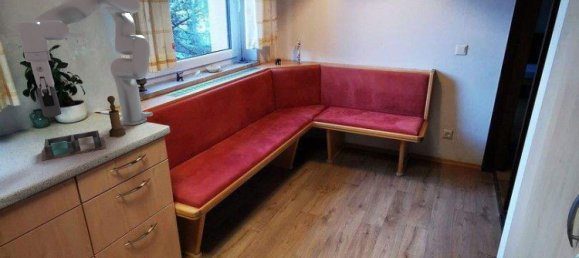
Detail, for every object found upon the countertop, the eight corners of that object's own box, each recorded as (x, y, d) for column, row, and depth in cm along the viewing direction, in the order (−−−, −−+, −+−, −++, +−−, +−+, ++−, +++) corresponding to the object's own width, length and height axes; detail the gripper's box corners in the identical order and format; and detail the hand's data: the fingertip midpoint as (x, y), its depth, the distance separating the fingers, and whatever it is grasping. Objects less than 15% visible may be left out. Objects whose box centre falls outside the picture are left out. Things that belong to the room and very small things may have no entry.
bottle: (65, 112, 136) (55, 75, 131) (54, 117, 131) (44, 78, 126) (51, 112, 137) (41, 75, 132) (39, 117, 131) (29, 78, 126)
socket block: (103, 138, 152) (100, 126, 150) (106, 148, 141) (103, 135, 139) (43, 148, 141) (40, 136, 140) (42, 161, 130) (38, 147, 128)
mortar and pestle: (129, 132, 158) (122, 94, 152) (119, 137, 152) (111, 98, 146) (117, 131, 160) (109, 93, 154) (106, 136, 154) (98, 97, 148)
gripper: (49, 58, 121) (61, 107, 127) (50, 53, 135) (61, 97, 141) (22, 60, 117) (36, 111, 124) (27, 54, 131) (39, 100, 137)
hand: (49, 103), depth 132 cm, fingers closed on bottle, 5 cm apart
